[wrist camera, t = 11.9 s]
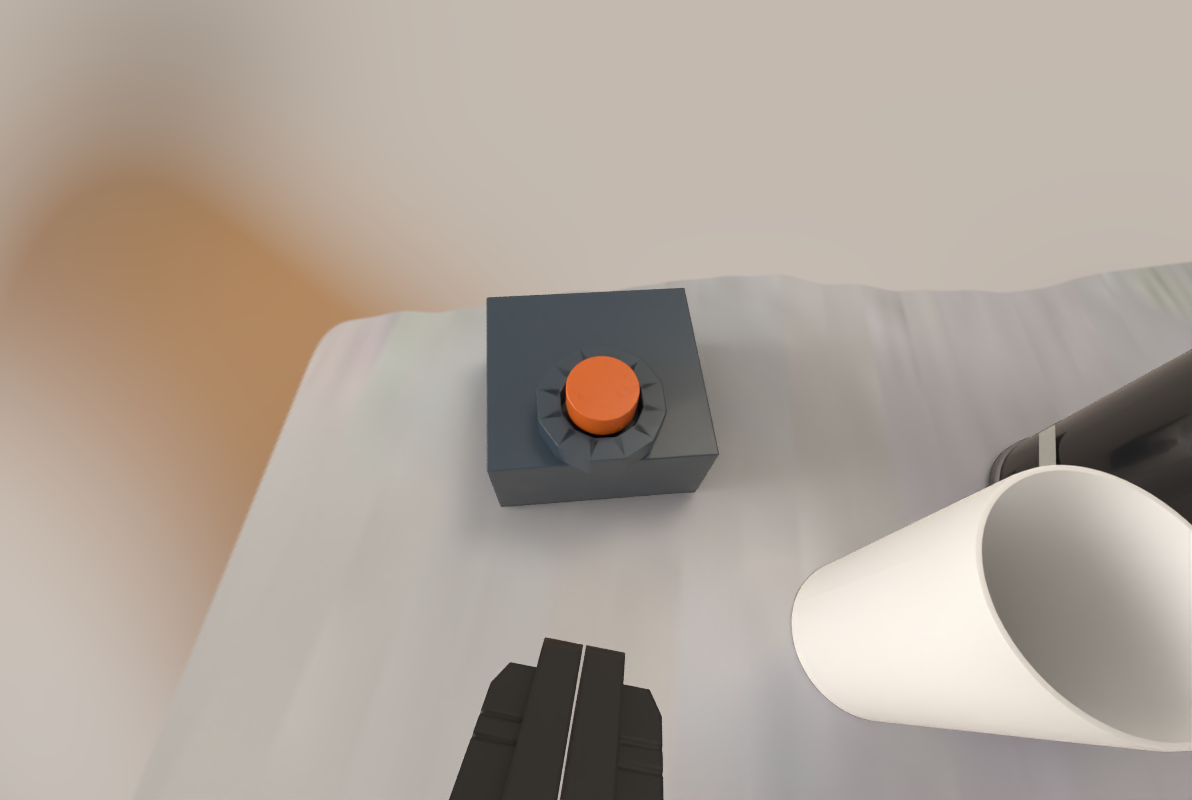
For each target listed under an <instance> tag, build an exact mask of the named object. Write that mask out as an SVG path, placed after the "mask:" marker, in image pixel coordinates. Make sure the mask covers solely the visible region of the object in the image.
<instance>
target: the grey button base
mask: <svg viewBox="0 0 1192 800" xmlns="http://www.w3.org/2000/svg"><path fill="white" fill-rule="evenodd" d="M596 356H608V357H613V358H616V359H618V360H620V361H622V362H624V363H626V364H627V365H628V366H629V367H630V368H631V369H632V370H633V371H634V373H635V374H636V376H637V378H638V381H639V385H640V394H639V398H638V403H637V407H636V411H635V415H634V417H633V419H632V421H631V422H630V423H629V424H628V425H627V426H626V427H625V428H624V429H622V430H620V431H619V432H616V433H613V434H610V435H595V434H591V433H588V432H585V431H584V430H582V429H580V428H579V427H578V426H576V425H575V424H574V422H573V421H572V420H571V418H570V417H569V415H568V412H567V408H566V381H567V378H568V376H569V374H570V372H571V371H572V369H573V368H574V367H575V366H576V365H577V364H579V363H580V362H582V361H584V360H586V359H588V358H591V357H596ZM718 455H719V452H718V447H717V443H716V438H715V433H714V428H713V423H712V419H711V414H710V409H709V404H708V399H707V395H706V390H705V385H704V380H703V375H702V371H701V366H700V361H699V356H698V351H697V347H696V342H695V337H694V332H693V327H692V322H691V318H690V313H689V308H688V303H687V298H686V294H685V289H684V288H674V289H653V290H632V291H612V292H591V293H571V294H550V295H530V296H509V297H489V298H487V472H488V474H489V477H490V480H491V482H492V485H493V487H494V490H495V493H496V495H497V498H498V500H499V503H500V505H501V507H504V506H517V505H530V504H543V503H556V502H569V501H582V500H594V499H607V498H620V497H633V496H646V495H659V494H672V493H685V492H695V491H696V490H697V488H698V487H699V485H700V483H701V482H702V480H703V479H704V477H705V476H706V474H707V472H708V471H709V469H710V468H711V466H712V464H713V463H714V461H715V460H716V458H717V456H718Z"/></svg>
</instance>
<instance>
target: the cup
mask: <svg viewBox="0 0 1192 800" xmlns="http://www.w3.org/2000/svg"><path fill="white" fill-rule="evenodd" d="M792 635H793V641H794V645H795V649H796V652H797V655H798V658H799V660H800V662H801V664H802V666H803V668H804V670H805V672H806V674H807V675H808V677H809V678H810V680H811V681H812V682H813V684H814V685H815V686H816V687H817V689H818V690H819V691H820V692H821V693H822V694H823V695H824V696H825V697H826V698H827V699H828V700H830V701H831V702H832V703H834V704H835V705H836V706H838V707H839V708H841V709H842V710H844V711H846V712H848V713H850V714H852V715H854V716H857V717H859V718H863V719H866V720H871V721H878V722H887V723H897V724H906V725H915V726H925V727H934V728H943V729H952V730H962V731H971V732H980V733H989V734H999V735H1008V736H1017V737H1027V738H1036V739H1045V740H1054V741H1064V742H1073V743H1082V744H1092V745H1102V746H1111V747H1121V748H1130V749H1140V750H1149V751H1162V752H1168V751H1192V525H1191V524H1190V523H1189V522H1188V521H1187V520H1186V519H1184V518H1183V517H1182V516H1181V515H1180V514H1178V513H1177V512H1176V511H1175V510H1173V509H1172V508H1171V507H1169V506H1168V505H1167V504H1165V503H1164V502H1163V501H1161V500H1160V499H1158V498H1157V497H1155V496H1154V495H1152V494H1150V493H1149V492H1147V491H1145V490H1143V489H1142V488H1140V487H1138V486H1136V485H1134V484H1132V483H1130V482H1128V481H1126V480H1123V479H1121V478H1119V477H1116V476H1114V475H1111V474H1108V473H1105V472H1102V471H1098V470H1094V469H1090V468H1085V467H1079V466H1070V465H1050V466H1041V467H1037V468H1032V469H1029V470H1026V471H1023V472H1020V473H1017V474H1014V475H1012V476H1010V477H1007V478H1005V479H1003V480H1001V481H999V482H997V483H995V484H993V485H991V486H989V487H987V488H985V489H982V490H980V491H978V492H976V493H974V494H972V495H970V496H968V497H966V498H964V499H962V500H960V501H958V502H956V503H954V504H951V505H949V506H947V507H945V508H943V509H941V510H939V511H937V512H935V513H933V514H931V515H929V516H927V517H925V518H923V519H921V520H918V521H916V522H914V523H912V524H910V525H908V526H906V527H904V528H902V529H900V530H898V531H896V532H894V533H892V534H890V535H888V536H886V537H883V538H881V539H879V540H877V541H875V542H873V543H871V544H869V545H867V546H865V547H863V548H861V549H859V550H857V551H855V552H853V553H851V554H848V555H846V556H844V557H842V558H840V559H838V560H836V561H834V562H832V563H830V564H828V565H826V566H824V567H822V568H820V569H818V570H817V571H815V572H814V573H813V574H812V575H811V576H810V577H809V578H808V579H807V580H806V581H805V582H804V584H803V585H802V587H801V588H800V590H799V592H798V594H797V597H796V599H795V602H794V606H793V611H792Z"/></svg>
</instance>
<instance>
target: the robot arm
mask: <svg viewBox="0 0 1192 800" xmlns="http://www.w3.org/2000/svg"><path fill="white" fill-rule="evenodd" d="M1050 465H1070V466H1079V467H1085V468H1090V469H1094V470H1098V471H1102V472H1105V473H1108V474H1111V475H1114V476H1116V477H1119V478H1121V479H1123V480H1126V481H1128V482H1130V483H1132V484H1134V485H1136V486H1138V487H1140V488H1142V489H1143V490H1145V491H1147V492H1149V493H1150V494H1152V495H1154V496H1155V497H1157V498H1158V499H1160V500H1161V501H1163V502H1164V503H1165V504H1167V505H1168V506H1169V507H1171V508H1172V509H1173V510H1175V511H1176V512H1177V513H1178V514H1180V515H1181V516H1182V517H1183V518H1184V519H1186V520H1187V521H1188V522H1189V523H1190V524H1191V525H1192V349H1191V350H1189V351H1187V352H1186V353H1184V354H1182V355H1180V356H1178V357H1176V358H1175V359H1173V360H1171V361H1169V362H1167V363H1166V364H1164V365H1162V366H1160V367H1158V368H1156V369H1155V370H1153V371H1151V372H1149V373H1147V374H1145V375H1144V376H1142V377H1140V378H1138V379H1136V380H1134V381H1133V382H1131V383H1129V384H1127V385H1125V386H1124V387H1122V388H1120V389H1118V390H1116V391H1114V392H1113V393H1111V394H1109V395H1107V396H1105V397H1103V398H1102V399H1100V400H1098V401H1096V402H1094V403H1092V404H1091V405H1089V406H1087V407H1085V408H1083V409H1082V410H1080V411H1078V412H1076V413H1074V414H1072V415H1071V416H1069V417H1067V418H1065V419H1063V420H1061V421H1059V422H1057V423H1055V424H1054V425H1052V426H1050V427H1048V428H1046V429H1045V430H1043V431H1041V432H1039V433H1037V434H1035V435H1034V436H1032V437H1029V438H1026V439H1023V440H1021V441H1019V442H1017V443H1015V444H1014V445H1012V446H1010V447H1009V448H1007V449H1006V450H1004V451H1003V452H1002V453H1001V454H1000V455H999V457H998V458H997V460H996V461H995V463H994V465H993V468H992V471H991V475H990V486H991V485H993V484H995V483H997V482H999V481H1001V480H1003V479H1005V478H1007V477H1010V476H1012V475H1014V474H1017V473H1020V472H1023V471H1026V470H1029V469H1032V468H1037V467H1041V466H1050ZM582 648H583V645H582V644H576V643H571V642H566V641H561V640H556V639H551V638H546V637H545V639H544V642H543V646H542V649H541V653H540V657H539V661H538V664H537V667H532V666H526V665H521V664H516V663H511V662H510V663H509V664H508V665H507V666H506V667H505V668H504V669H503V670H502V671H501V672H500V674H499V675H498V676H497V677H496V678H495V679H494V680H493V681H492V682H491V684H490V686H489V689H488V692H487V695H486V698H485V700H484V703H483V706H482V709H481V713H480V715H479V717H478V720H477V723H476V726H475V728H474V731H473V736H472V738H471V740H470V743H469V745H468V748H467V751H466V754H465V757H464V759H463V762H462V765H461V768H460V771H459V773H458V776H457V779H456V782H455V785H454V787H453V790H452V793H451V796H450V799H449V800H557V798H558V792H559V786H560V780H561V774H562V768H563V762H564V756H565V750H566V744H567V738H568V732H569V726H570V720H571V714H572V708H573V702H574V696H575V690H576V684H577V678H578V672H579V666H580V660H581V654H582ZM624 664H625V653H623V652H618V651H613V650H608V649H603V648H598V647H593V646H588V645H586V650H585V656H584V661H583V667H582V672H581V678H580V683H579V689H578V695H577V700H576V706H575V711H574V717H573V723H572V729H571V735H570V741H569V747H568V753H567V759H566V766H565V772H564V778H563V784H562V790H561V797H560V800H663V777H662V772H663V755H662V716H661V714H660V712H659V709H658V707H657V705H656V703H655V701H654V698H653V696H652V694H651V692H650V690H649V689H644V688H639V687H633V686H628V685H623V680H624Z"/></svg>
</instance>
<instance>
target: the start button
mask: <svg viewBox="0 0 1192 800" xmlns="http://www.w3.org/2000/svg"><path fill="white" fill-rule="evenodd" d="M639 394H640V385H639V381H638V378H637V376H636V374H635V373H634V371H633V370H632V369H631V368H630V367H629V366H628V365H627V364H626V363H624V362H622V361H620V360H618V359H616V358H613V357H608V356H596V357H591V358H588V359H586V360H584V361H582V362H580V363H579V364H577V365H576V366H575V367H574V368H573V369H572V371H571V372H570V374H569V376H568V378H567V381H566V408H567V412H568V415H569V417H570V418H571V420H572V421H573V422H574V424H575V425H576V426H578V427H579V428H580V429H582V430H584V431H585V432H588V433H591V434H595V435H610V434H613V433H616V432H619V431H620V430H622V429H624V428H625V427H626V426H627V425H628V424H629V423H630V422H631V421H632V419H633V417H634V415H635V411H636V407H637V403H638V398H639Z"/></svg>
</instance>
